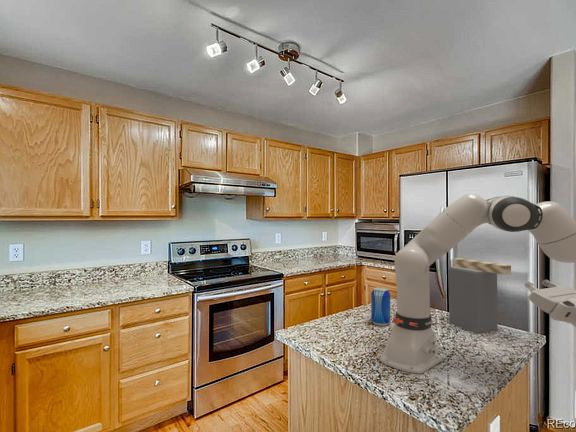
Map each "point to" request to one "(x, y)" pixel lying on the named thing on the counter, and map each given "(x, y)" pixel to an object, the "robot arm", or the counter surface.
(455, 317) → the charcoal stand
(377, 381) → the counter surface
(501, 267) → the maple bar
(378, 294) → the beer can
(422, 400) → the counter surface
